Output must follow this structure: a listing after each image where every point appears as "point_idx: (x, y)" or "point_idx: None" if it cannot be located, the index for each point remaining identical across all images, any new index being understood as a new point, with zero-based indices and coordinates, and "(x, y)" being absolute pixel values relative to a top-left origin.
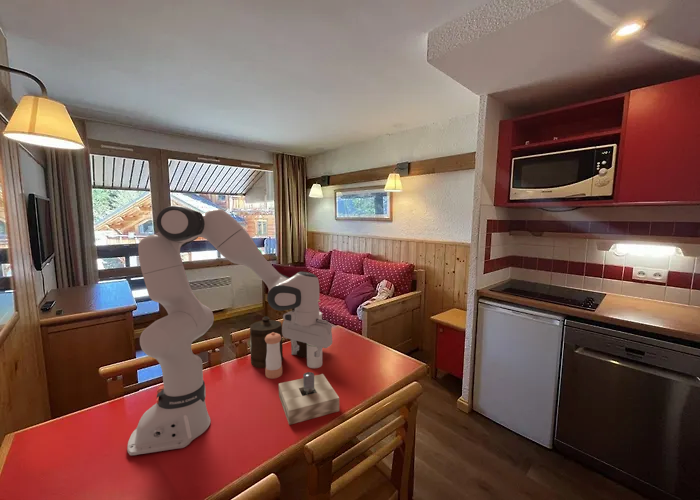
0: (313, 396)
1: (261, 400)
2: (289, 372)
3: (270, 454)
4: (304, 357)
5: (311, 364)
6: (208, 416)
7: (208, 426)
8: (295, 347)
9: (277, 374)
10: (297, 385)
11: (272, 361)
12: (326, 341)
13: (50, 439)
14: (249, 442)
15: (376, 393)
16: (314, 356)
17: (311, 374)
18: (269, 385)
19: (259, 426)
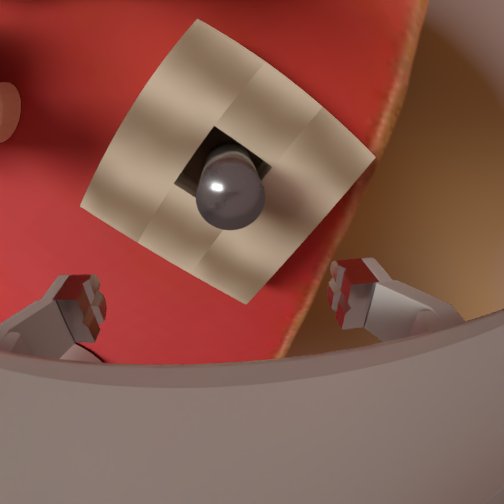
0: (275, 199)
1: (81, 238)
2: (28, 61)
3: (270, 349)
4: None
5: None
6: (78, 359)
7: (97, 358)
8: (86, 337)
9: (12, 118)
10: (153, 169)
11: None
12: None
13: None
14: (204, 350)
15: (414, 15)
16: (329, 296)
17: (242, 186)
18: (33, 166)
19: (177, 314)
